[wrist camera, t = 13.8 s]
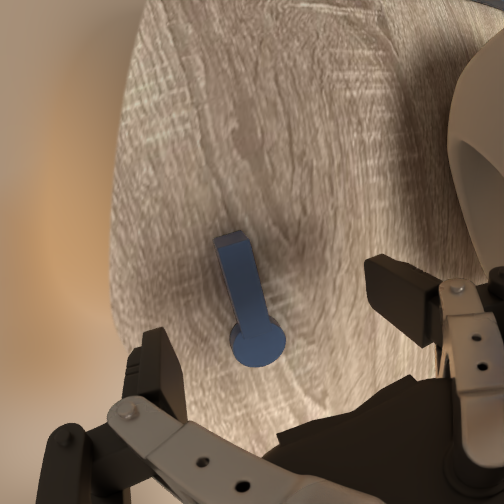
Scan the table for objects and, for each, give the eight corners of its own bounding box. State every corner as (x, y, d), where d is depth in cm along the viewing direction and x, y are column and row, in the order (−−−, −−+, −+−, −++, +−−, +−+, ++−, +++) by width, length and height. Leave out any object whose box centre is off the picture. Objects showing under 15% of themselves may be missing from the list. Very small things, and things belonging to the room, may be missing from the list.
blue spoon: (197, 242, 19) (200, 253, 17) (255, 225, 20) (265, 234, 18) (237, 364, 22) (243, 383, 20) (284, 348, 23) (295, 365, 21)
